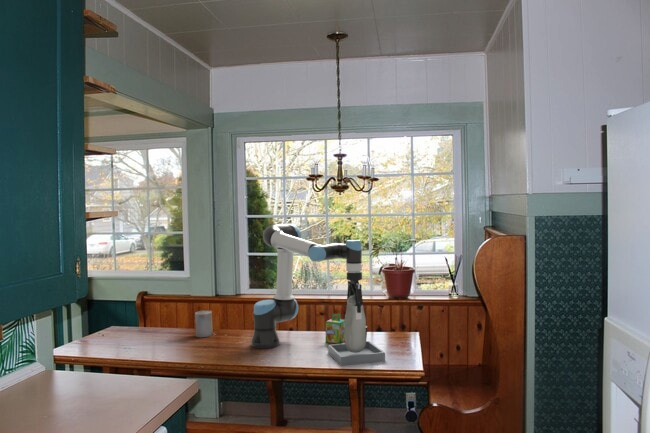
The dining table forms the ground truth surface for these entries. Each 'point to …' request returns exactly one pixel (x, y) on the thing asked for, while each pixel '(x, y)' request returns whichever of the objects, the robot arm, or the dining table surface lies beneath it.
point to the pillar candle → (203, 323)
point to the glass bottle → (354, 327)
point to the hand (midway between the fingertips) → (355, 316)
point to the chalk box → (335, 330)
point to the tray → (356, 354)
